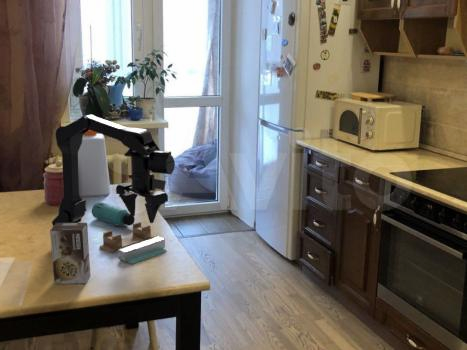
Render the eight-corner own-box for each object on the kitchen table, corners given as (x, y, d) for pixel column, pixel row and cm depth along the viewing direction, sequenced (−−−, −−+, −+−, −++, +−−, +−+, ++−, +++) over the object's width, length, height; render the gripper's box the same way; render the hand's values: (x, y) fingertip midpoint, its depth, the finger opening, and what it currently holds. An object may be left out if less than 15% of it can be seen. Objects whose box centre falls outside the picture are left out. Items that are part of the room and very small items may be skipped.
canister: (45, 198, 236) (42, 157, 232) (77, 196, 240) (74, 155, 235) (44, 207, 224) (41, 164, 220) (78, 205, 228) (76, 162, 223)
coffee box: (91, 274, 164) (88, 222, 160) (86, 284, 158) (83, 229, 154) (59, 274, 163) (55, 221, 159) (53, 284, 157) (49, 229, 153)
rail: (125, 261, 172) (124, 252, 171) (119, 258, 174) (118, 249, 173) (164, 247, 184) (164, 238, 183) (158, 245, 186) (158, 236, 185)
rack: (110, 253, 179) (110, 238, 178) (99, 248, 183) (99, 233, 182) (154, 239, 192) (154, 224, 191) (143, 234, 196) (142, 220, 195)
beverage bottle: (96, 220, 214) (132, 232, 202) (85, 212, 209) (121, 224, 197) (104, 205, 216) (140, 216, 204) (93, 197, 211) (130, 208, 199)
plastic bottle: (109, 196, 240) (107, 131, 233) (73, 198, 237) (69, 132, 230) (110, 187, 255) (107, 125, 248) (75, 188, 252) (72, 126, 245)
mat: (132, 264, 172) (132, 262, 171) (118, 257, 176) (118, 256, 176) (166, 251, 182) (166, 250, 182) (152, 245, 186) (152, 244, 186)
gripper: (181, 171, 172) (181, 220, 176) (142, 162, 184) (143, 207, 188) (152, 178, 164) (154, 229, 168) (114, 167, 176) (116, 215, 180)
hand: (142, 219), depth 176 cm, fingers open, 9 cm apart
